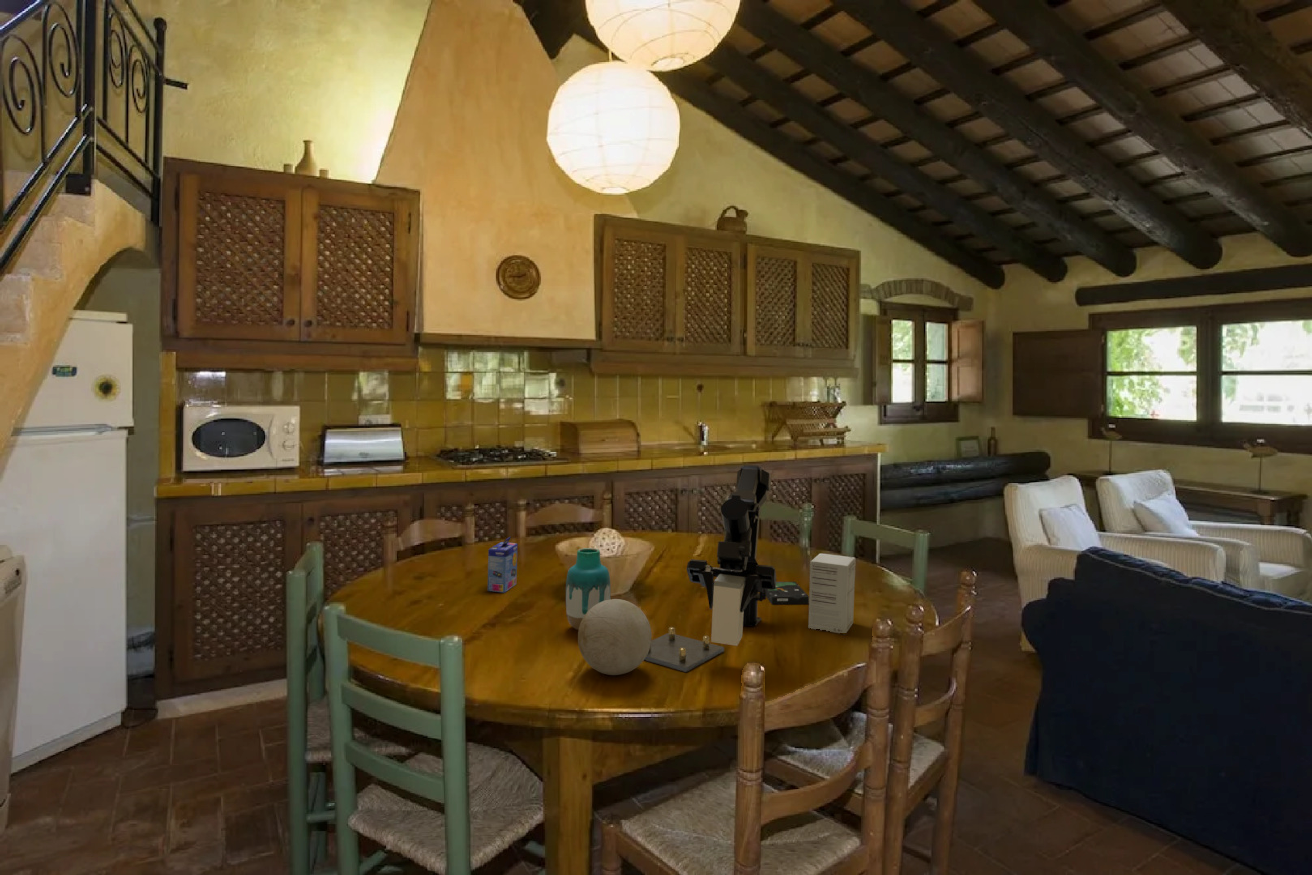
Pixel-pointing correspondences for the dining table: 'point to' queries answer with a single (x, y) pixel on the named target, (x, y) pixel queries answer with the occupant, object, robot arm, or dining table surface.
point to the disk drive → (787, 594)
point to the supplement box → (831, 593)
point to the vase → (586, 585)
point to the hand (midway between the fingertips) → (725, 609)
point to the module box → (727, 609)
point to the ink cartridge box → (502, 566)
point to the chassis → (681, 651)
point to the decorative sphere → (614, 637)
